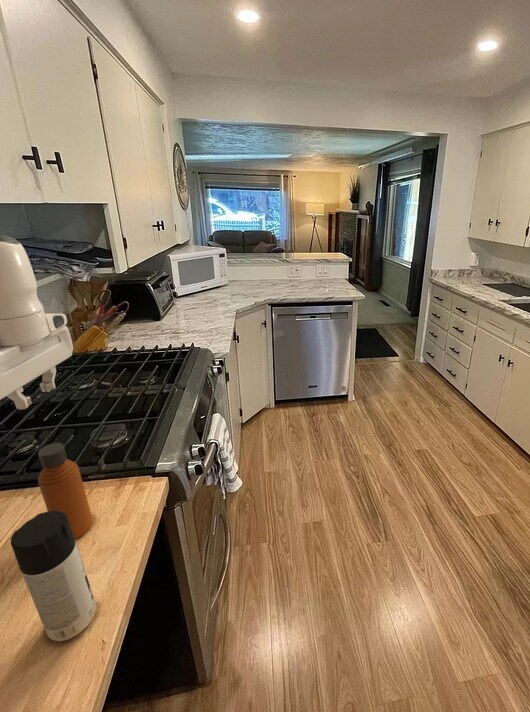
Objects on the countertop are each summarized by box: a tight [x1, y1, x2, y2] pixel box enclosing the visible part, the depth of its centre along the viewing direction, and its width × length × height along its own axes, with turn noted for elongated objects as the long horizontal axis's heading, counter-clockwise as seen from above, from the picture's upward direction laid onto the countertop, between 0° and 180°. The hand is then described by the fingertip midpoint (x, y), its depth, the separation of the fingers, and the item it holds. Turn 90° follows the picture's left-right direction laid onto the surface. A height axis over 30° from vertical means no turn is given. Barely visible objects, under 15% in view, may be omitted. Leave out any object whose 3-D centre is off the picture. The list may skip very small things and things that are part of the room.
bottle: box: [37, 458, 94, 540], centre depth 71 cm, size 6×6×19 cm
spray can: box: [10, 510, 96, 642], centre depth 54 cm, size 7×7×20 cm
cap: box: [37, 442, 68, 468], centre depth 68 cm, size 4×4×3 cm
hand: (37, 398), depth 67 cm, fingers open, 5 cm apart
